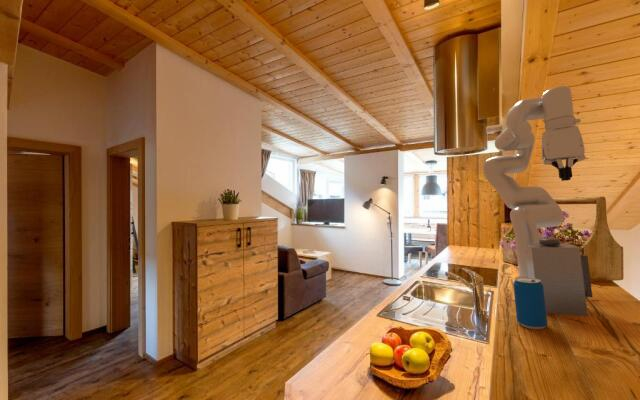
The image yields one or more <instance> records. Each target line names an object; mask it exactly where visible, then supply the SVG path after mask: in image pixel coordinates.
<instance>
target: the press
mask: <svg viewBox="0 0 640 400" xmlns="http://www.w3.org/2000/svg"><path fill="white" fill-rule="evenodd" d="M525 252H526V261H527V270H528V278H536V279H539V280H541V283H542V284H543V289H544V297H545V306H546V314H554V315H555V314H556V315H569V316H581V317H588V315H589V314H588V307H587V299H586V298H593V291H592V290H593V289H592V282H591V281H592V280H591V274H590V266H589V259H588V255H587V254H581V250H580V246H576V245H574V244H571V243H568V242H560V245H553V246H547V245H540V244H539V243H525Z"/></svg>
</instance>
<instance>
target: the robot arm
mask: <svg viewBox="0 0 640 400" xmlns="http://www.w3.org/2000/svg"><path fill="white" fill-rule="evenodd" d="M535 120H543V121H544V128H545V129H544V130H545V131H543V132H542V134H541V135H542V136H541V156H542V157H541V158H542V161H543V163H542V164H543V165H545V166H546V165H548V166H552V167H554V168H556V169H557V171H558V178H559V179H561V181H562V182H563V181H570V180H572V179H571V178H573V170H572V168H573V167H574V166H575V164H577V163H578V162H582V161H584V160H586V158H587V157H586V156H585V143H584V141H583V136H582V133H581V130H580V128H579V126H578V124H580V123H581V118H576V116H575V113H574V105H573V98H572V90H571V88H570V87H569V86H566V85H565V86H564V85H563V86H556V87H552V88H549V89H548V90H546V91H544V92H543V94H542V95H541V97H533V98H526V99H522V100H518V101H517V102H516V103H515V104H514V105H513V106H512V107H511V108H510V109H509V110H508V112H507V114H506V118H505V125H506V128H504V129H503V130H502V132H501V133H500V134H499V135H498V136H497V137H496V138H495V141H494V147H495V148H496V150H499V151H501V152H513V151H514V152H515V151H516V154H510V155H509V154H508V155H497V156H493V157H490V158H488V159H486V160H485V161H484V163H483V165H482V166H483V167H482V169H483V173H484V174H483V175H484V177H485V179H486V181H487V182H488V183H489V184H490V185H491V186H492V187H493V188H494V189H495V191H496V192H497V194H498V195H499V196H500V198H501V200H502V202H504V205H506V208H509V209H511V211H510V213H509V219H510V222H511V224H512V228H513V234H514V239H515V247H516V255H517V256H516V257H517V258H516V259H517V266H518V267H517V268H518V273H519V274H518V276H519V277H528V270H527V261H526V252H525V243H539V239H544V238H545V237H544V236H543V234H542V233H540V231H539V230H538V229H539V228H540V229H543V228H545V229H546V228H554V227H555V228H556V227H559V226H560V225H561V224H562V223H563V222H564V220H565V217H564V213H563V210H562V208H561V207H560V206H559V204H558V203H557V202H556V200H555V199H554V198H553V197H552V195H550V193H549V192H548V191H547V190H546V189H545V188H544V187H541V186H537V185H536V186H521V185H520V184H519V183H518V182H517V180H516V179H515V178H513V177H511V176H509V175H507V174H518V173H523V172H525V171H526V170H527V169H528V167H529V164H530V161H531V157H532V154H533V150H534V146H535V141H536V139H535V135H534V133H533V132H532V131H533V129H532V124H530V122H529V121H535ZM564 160H565V166H564V164H563V161H564Z"/></svg>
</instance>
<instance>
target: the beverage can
mask: <svg viewBox="0 0 640 400" xmlns="http://www.w3.org/2000/svg"><path fill="white" fill-rule="evenodd" d="M512 285H513V293H514V295H513V296H514V303H515V304H514V305H515V313H516V321H517V323H518V324H519V325H521V326H522V327H524V328H527V329H531V330H542V329H545V327H547V326H548V317H547V313H546V306H545V297H544V289H543V284H542V283H541V280H539V279H536V278H528V277H520V276H519V277H515V278H514V281H513V283H512Z"/></svg>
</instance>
